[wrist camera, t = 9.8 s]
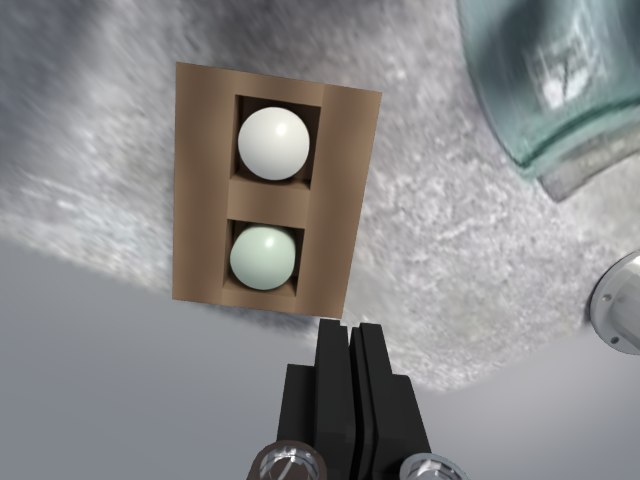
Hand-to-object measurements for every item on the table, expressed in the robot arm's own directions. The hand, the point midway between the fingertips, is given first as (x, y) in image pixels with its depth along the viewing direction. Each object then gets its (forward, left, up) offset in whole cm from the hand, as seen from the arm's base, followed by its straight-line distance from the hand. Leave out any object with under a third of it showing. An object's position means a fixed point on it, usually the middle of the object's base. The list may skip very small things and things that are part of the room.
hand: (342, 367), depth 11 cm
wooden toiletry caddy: (+4, +1, -28) cm, 29 cm away
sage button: (+4, +6, -24) cm, 25 cm away
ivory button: (+4, -3, -24) cm, 24 cm away
